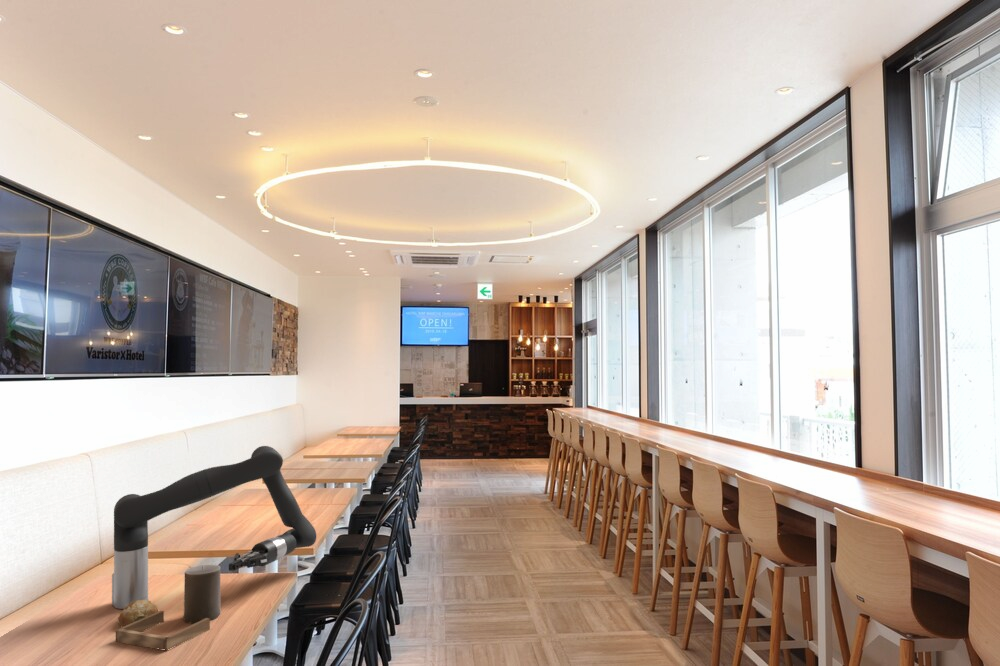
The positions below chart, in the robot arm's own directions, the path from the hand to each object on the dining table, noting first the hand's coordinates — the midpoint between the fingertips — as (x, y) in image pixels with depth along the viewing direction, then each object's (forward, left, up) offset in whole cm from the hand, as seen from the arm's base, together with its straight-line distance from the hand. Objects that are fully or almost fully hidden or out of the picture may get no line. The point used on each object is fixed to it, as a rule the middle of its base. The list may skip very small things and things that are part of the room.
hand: (230, 567), depth 200 cm
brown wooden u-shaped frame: (0, -24, -11) cm, 26 cm away
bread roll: (-15, -20, -11) cm, 27 cm away
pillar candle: (0, -11, -11) cm, 15 cm away
